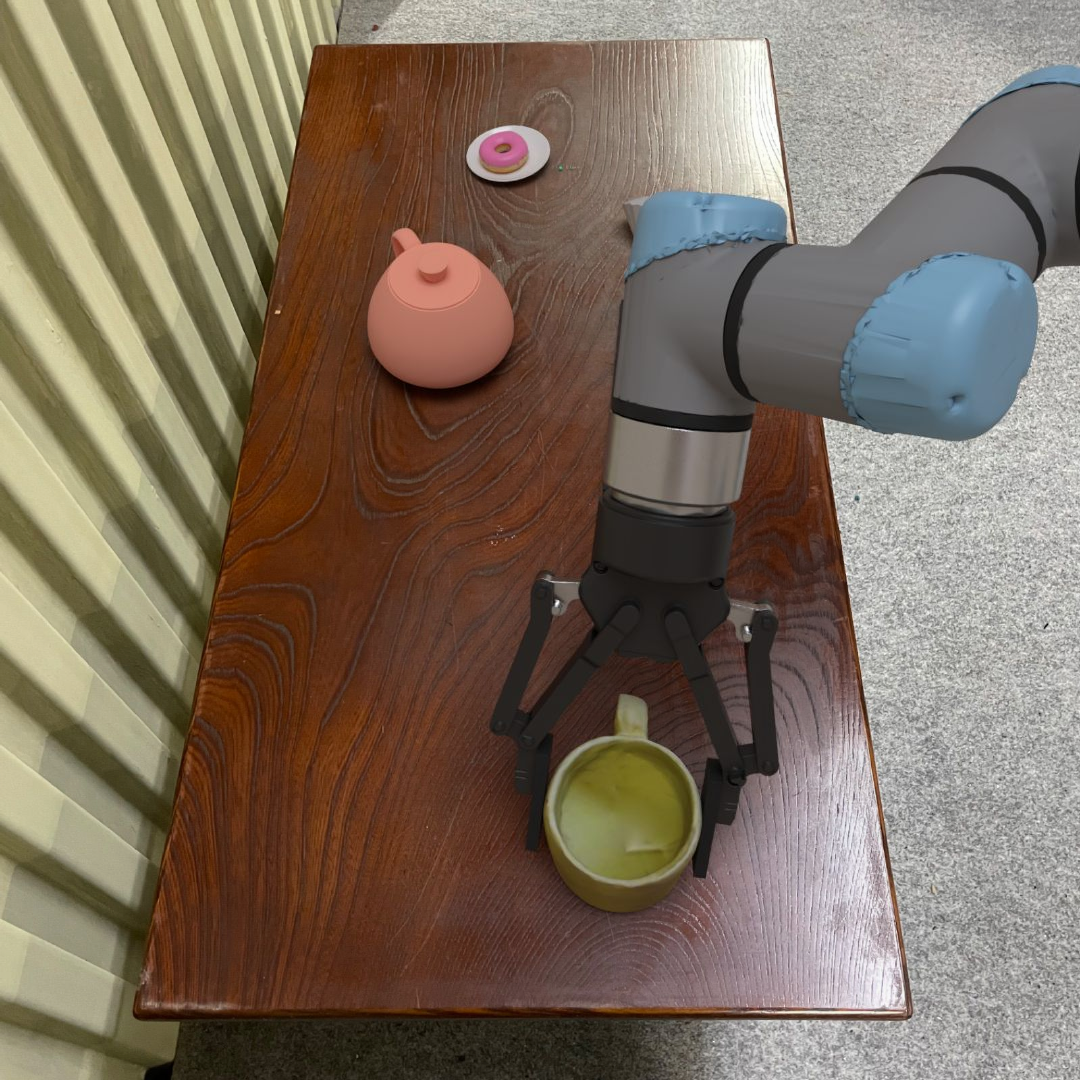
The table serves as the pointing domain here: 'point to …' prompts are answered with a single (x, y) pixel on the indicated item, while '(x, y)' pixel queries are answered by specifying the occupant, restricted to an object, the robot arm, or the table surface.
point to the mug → (622, 816)
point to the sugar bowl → (438, 315)
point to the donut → (508, 153)
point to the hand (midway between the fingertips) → (615, 850)
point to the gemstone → (633, 211)
